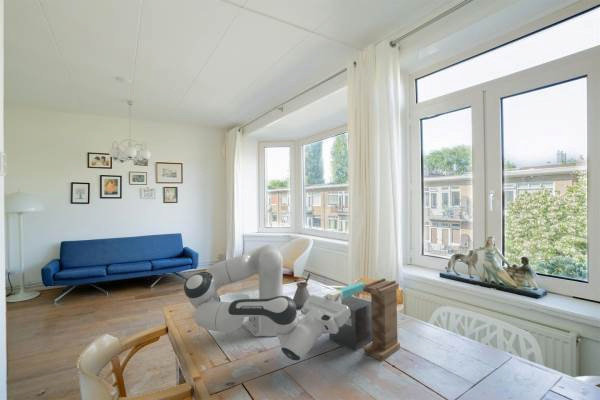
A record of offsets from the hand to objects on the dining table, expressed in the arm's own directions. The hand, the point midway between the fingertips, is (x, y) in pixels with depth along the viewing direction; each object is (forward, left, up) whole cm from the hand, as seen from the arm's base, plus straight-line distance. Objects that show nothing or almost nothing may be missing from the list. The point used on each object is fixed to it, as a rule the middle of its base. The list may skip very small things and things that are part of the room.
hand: (337, 294), depth 113 cm
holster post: (+13, +11, -22) cm, 28 cm away
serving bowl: (-67, -11, -22) cm, 71 cm away
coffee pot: (-47, +26, -22) cm, 58 cm away
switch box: (-1, +10, -22) cm, 24 cm away
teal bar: (0, +7, -2) cm, 7 cm away
